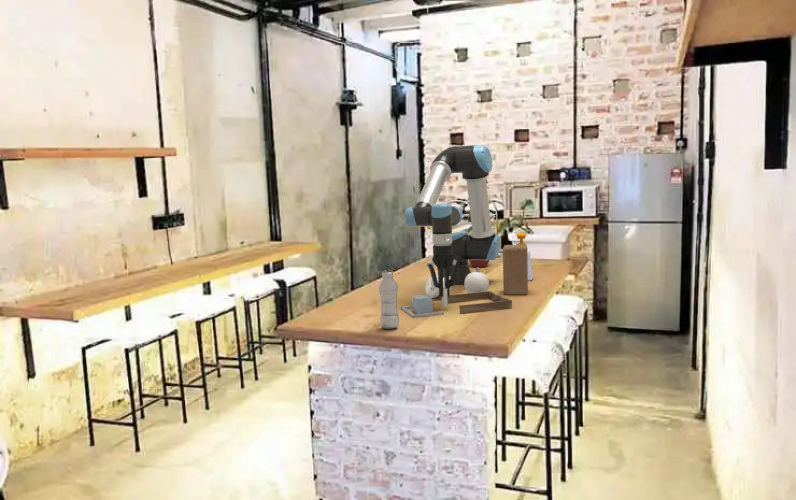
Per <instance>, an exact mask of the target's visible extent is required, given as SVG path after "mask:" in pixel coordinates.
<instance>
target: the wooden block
mask: <svg viewBox="0 0 796 500" xmlns="http://www.w3.org/2000/svg"><path fill="white" fill-rule="evenodd" d="M527 249H528V245H527V244H526V245H517V244H505V245H504V246H503V249H502V272H503V273H502V275H503V277H502V278H503V279H502V280H503V281H502V282H503V283H502V284H503V294H504V295H505V296H506V295H507V296H510V295H511V296H518V295H519V296H526V295H528V293H529V281H528V256H527Z"/></svg>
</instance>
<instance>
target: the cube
mask: <svg viewBox="0 0 796 500" xmlns="http://www.w3.org/2000/svg"><path fill="white" fill-rule="evenodd" d="M411 301H412V302H411V303H412V306H413V308H412V311H413V312H414V314H415V315H418V314H427V313H434V312H433V298H432V297H430V296H429V295H427V294H420V295H418V294H417V295H412V297H411ZM413 312H412V313H413Z"/></svg>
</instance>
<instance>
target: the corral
mask: <svg viewBox="0 0 796 500" xmlns="http://www.w3.org/2000/svg"><path fill="white" fill-rule="evenodd" d="M400 309H401V310H402V311H403V312H405V313H406V314H407V315H409V316H410V317H411V318H413V319H414V318H415V317H416V318H424V317H432V316H441V315H443V316H444V314H445V312H444V311H438V312H437V311H436V312H433V313H425V314H416V313H413V312H412V311H410V310H409V309H413V305H406V306H401V307H400Z"/></svg>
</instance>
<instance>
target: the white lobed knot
mask: <svg viewBox="0 0 796 500" xmlns="http://www.w3.org/2000/svg"><path fill="white" fill-rule="evenodd" d="M436 277H437V281H438V274H436ZM449 280H450V276H449ZM443 288H445V281H444V278H443ZM452 288H453V286H451V287H450V289H449V292H450V291H451V290H452ZM424 290H425V295H429V296H430V297H432V299H436V298H438V297H440V296H439V288H436V287H435V286H434V284H433V280H432V277H431V276H430V277H429V278H428V279H427V280H426V282H425V285H424Z"/></svg>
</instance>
